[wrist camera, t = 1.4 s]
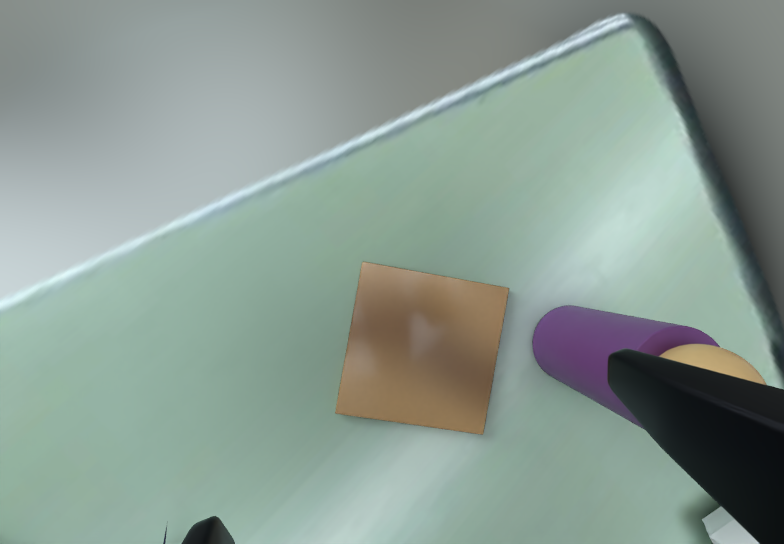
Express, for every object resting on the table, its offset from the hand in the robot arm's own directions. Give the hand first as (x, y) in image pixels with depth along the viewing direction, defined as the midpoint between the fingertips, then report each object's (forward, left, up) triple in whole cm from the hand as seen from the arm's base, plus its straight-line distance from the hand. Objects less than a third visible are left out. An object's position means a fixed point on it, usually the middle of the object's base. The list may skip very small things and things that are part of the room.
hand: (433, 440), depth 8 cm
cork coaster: (-1, -3, -17) cm, 17 cm away
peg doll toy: (+1, -13, -17) cm, 21 cm away
